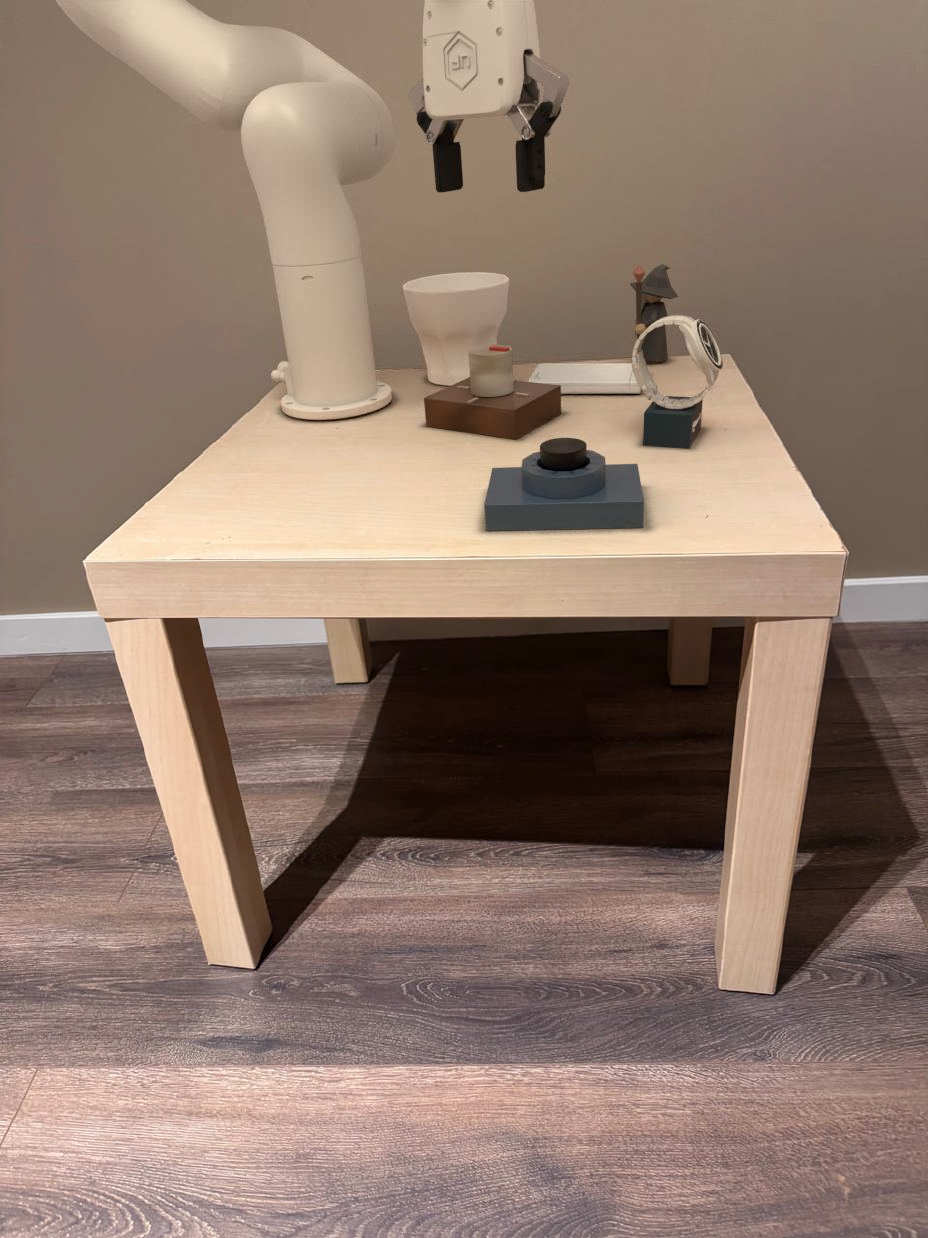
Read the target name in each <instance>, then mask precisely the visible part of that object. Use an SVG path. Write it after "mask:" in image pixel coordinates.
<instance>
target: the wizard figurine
mask: <svg viewBox="0 0 928 1238" xmlns="http://www.w3.org/2000/svg"><path fill="white" fill-rule="evenodd" d="M670 269H671V267H670V266H668V265H665V264H664V263H663V264H659V265H657V266H655V267H654V268H652V270H651V271H650V272H649V273H648V274H647V275H646V276H645V274H646V271H645V269H644V268H643V267H642V265H641V264H640V263H638V264H637V266H636V267H635V269H634V270H633V271H632V275H633V277H634V279H635V280H636V282H630V287H631V288H632V289H633V290H634V291H635V311H636V312H635V313H636V316H635V322H634V338H636V341H637V340H638V339H639V337H640V335H641V334H642V333H643V332H644V331H645V330H646V329H647V328H648V327H649V326H650V325H652V324H653V323H654V322H656V321H657V320H660V319H661V318H664V317H667V316H668V312H667V309H666V304H665V302H664V301H661V300H663V299H667V300H673V299H676V298H678V297H679V295H678V294H677V292H676V291H675V289H674V288H673V286H672V284H671V281H670V278H669V275H668V272H667V270H670ZM644 277H645V278H644ZM641 350H643V356H644V359H645V362H646V365H653V364H654V365H655V364H657V362H664V361H666V360H668V359H669V357H668V355H669V354H668V341H667V331H666V325H665V324H664V325H663V326H660V327H657V328H654V329H653V330H651V331H650V332H649V333H648V334H647V335H646V336H645V338H644V341H643V343H642V347H641Z"/></svg>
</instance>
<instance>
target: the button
mask: <svg viewBox="0 0 928 1238" xmlns="http://www.w3.org/2000/svg"><path fill="white" fill-rule="evenodd" d="M587 448H588V447H587V442H586V441H584V440H582V439H579V438H575V437H556V438H550V439H547V440H544V441H542V442H541V444H540V445H539V452H540V467H541V468H542V469H544V470H550V471H556V472H558V471H574V470H578V469H582V468H584V467H586V466H587V450H588V449H587Z"/></svg>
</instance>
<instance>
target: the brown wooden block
mask: <svg viewBox="0 0 928 1238" xmlns="http://www.w3.org/2000/svg"><path fill="white" fill-rule="evenodd" d="M513 381H514V391H513V392H512V393H510V394H507V395H503V396H498V397H479V396H475V395H473V394H472V393H471V383H470V377H469V378H467V379H464V380H462V381H460V382H458V383H456V384H453V385H451V386H446V387H445V388H442V389H441V390H438V391H436V392H433V393H432V394H430V395H427V396H425V397H423V402H424V414H425V416H424V417H425V425H426V427H429V428H434V429H435V428H436V429H443V430H450V431H456V432H461V433H462V432H463V433H467V434H468V433H469V434H476V435H483V436H488V437H496V438H503V439H509V440H518V439H520V438H522V437H523V436H525V435H527V434H529V433H530V432H532V431H534V430H536V429H538V428H539V427H541V426H542V425H544V424H546V423H547V422H550V421H551V420H553V419H554V418H556V417H558V416H560V415H562V394H561V385H553V384H544V383H535V382H528V381H524V380H517V379H515V378H513Z"/></svg>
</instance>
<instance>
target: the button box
mask: <svg viewBox="0 0 928 1238" xmlns="http://www.w3.org/2000/svg"><path fill="white" fill-rule="evenodd" d="M638 464H639V463H616V464H615V463H610V464H607V463H606V457H605V456H603V455H602V454H600V453H598V452H596V451H595V450H591V449H587V466H586V467H584V468H582V469H578V470H574V471H558V472H556V471H550V470H544V469H542V468H541V467H540V451H536V452H532V453H531V454H529V455H527V456H526V457H524V458H522V460H521V466H513V467H512V466H510V467H509V466H507V467H506V466H505V467H492V468H491V472H490V476H489V482H488V485H487V491H486V496H485V500H484V505H483V506H484V507H483V508H484V522H485V531H486V532H493V531H494V532H497V531H498V532H499V531H545V530H547V531H549V530H551V531H552V530H553V531H554V530H593V529H594V530H596V529H643V528H644V517H645V514H644V513H645V499H644V493H643V488H642V481H641V476H640V469H639V465H638Z"/></svg>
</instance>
